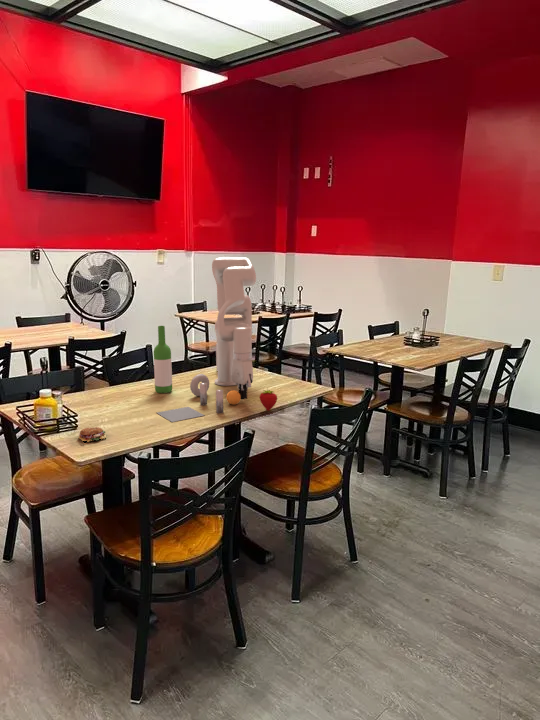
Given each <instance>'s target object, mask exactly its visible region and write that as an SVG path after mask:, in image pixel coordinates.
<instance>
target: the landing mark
mask: <svg viewBox="0 0 540 720" xmlns="http://www.w3.org/2000/svg"><path fill="white" fill-rule="evenodd" d="M156 414H158V415H159V416H161V417H162V418H164V419H166V420H167V421H169V422H171V423H175V422H180V421H185V420H191V419H195V418H200V417H205V416H206V415H205V414H204V413H201V412H200V411H197V410H195V409H194V408H192V407H190V406H186V407H185V406H183V407H179V408H175V409H174V408H173V409H169V410H162V411H157V412H156Z"/></svg>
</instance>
